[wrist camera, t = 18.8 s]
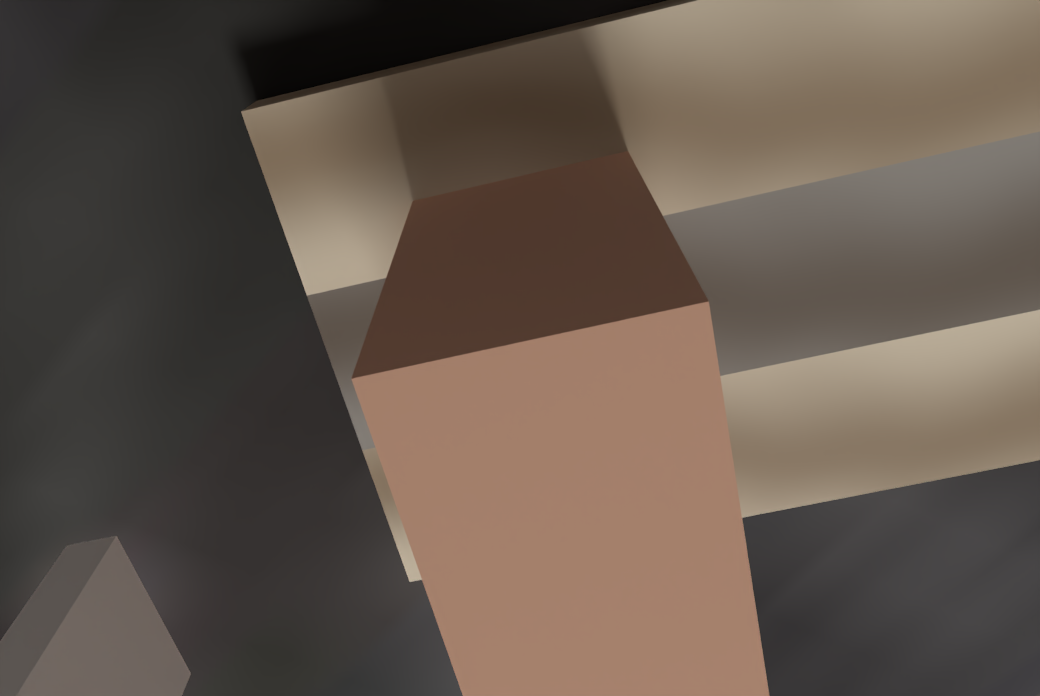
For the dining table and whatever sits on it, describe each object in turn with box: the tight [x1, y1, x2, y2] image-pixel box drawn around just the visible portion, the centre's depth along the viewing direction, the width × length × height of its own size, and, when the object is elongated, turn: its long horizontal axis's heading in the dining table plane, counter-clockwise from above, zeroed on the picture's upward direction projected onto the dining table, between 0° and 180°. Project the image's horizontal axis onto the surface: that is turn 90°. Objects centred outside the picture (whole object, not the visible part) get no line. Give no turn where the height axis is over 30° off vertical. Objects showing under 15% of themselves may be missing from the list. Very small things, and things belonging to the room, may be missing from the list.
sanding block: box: [351, 151, 769, 696], centre depth 16 cm, size 7×4×8 cm, turn 13°
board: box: [241, 0, 1040, 582], centre depth 20 cm, size 12×22×1 cm, turn 103°
